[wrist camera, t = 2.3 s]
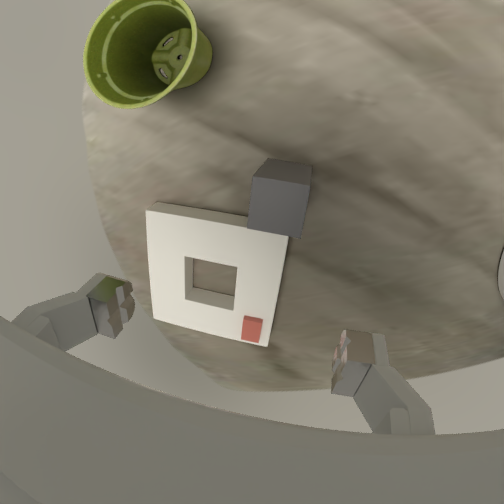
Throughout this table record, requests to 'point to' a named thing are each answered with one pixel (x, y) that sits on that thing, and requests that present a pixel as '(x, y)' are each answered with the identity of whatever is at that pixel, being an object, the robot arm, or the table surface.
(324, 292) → the table surface
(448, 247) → the table surface
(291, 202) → the plug
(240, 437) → the robot arm
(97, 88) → the plant pot
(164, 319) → the socket plate
